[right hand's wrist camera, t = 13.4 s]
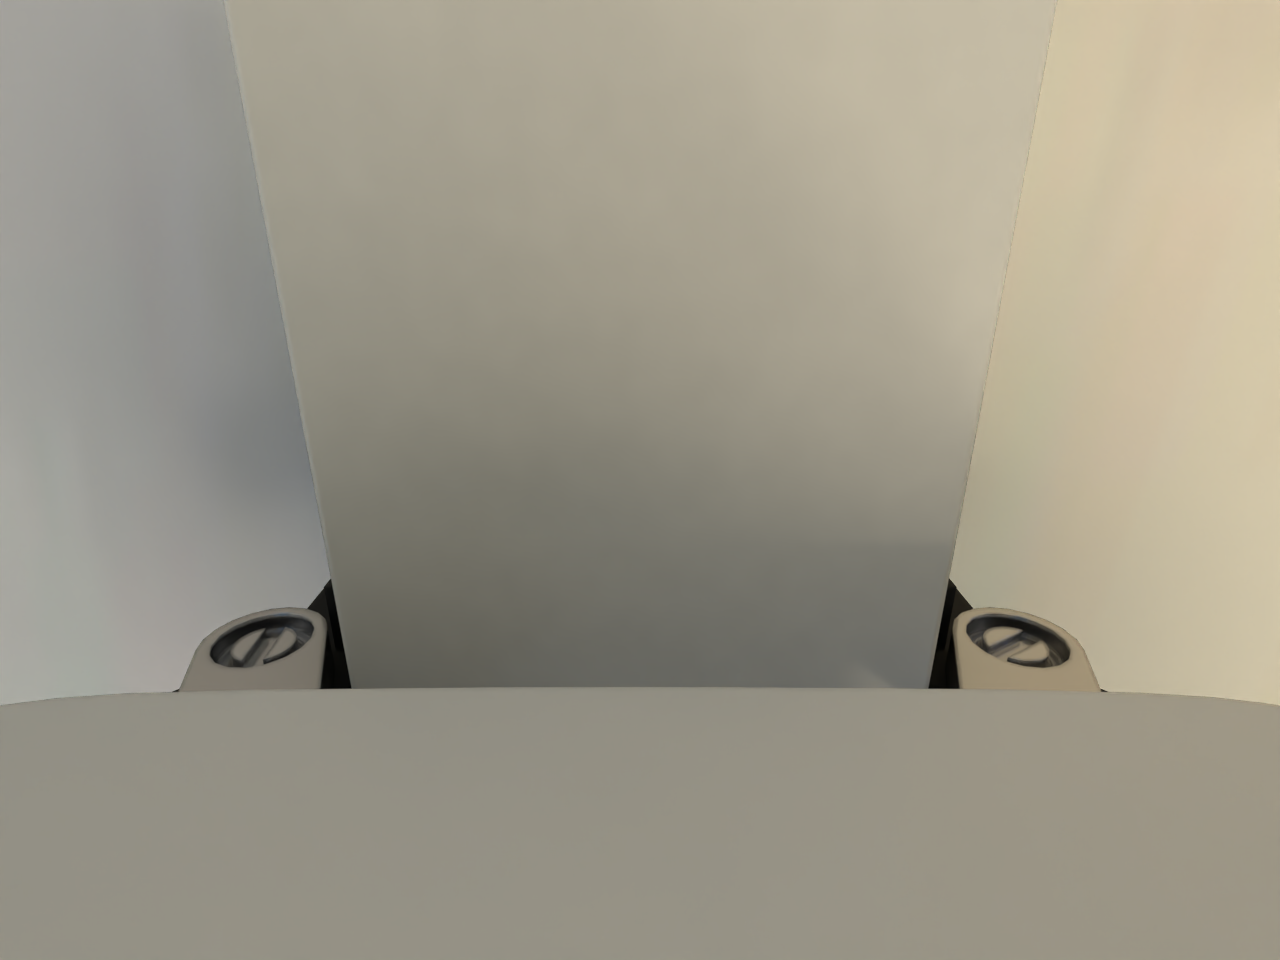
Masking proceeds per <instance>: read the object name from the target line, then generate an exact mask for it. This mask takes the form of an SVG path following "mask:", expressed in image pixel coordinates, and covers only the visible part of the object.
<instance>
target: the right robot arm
mask: <svg viewBox="0 0 1280 960" xmlns="http://www.w3.org/2000/svg"><path fill="white" fill-rule="evenodd" d="M0 960H1280V706H1278V705H1272V704H1266V703H1259V702H1250V701H1241V700H1233V699H1224V698H1215V697H1200V696H1184V695H1167V694H1151V693H1125V692H1107V691H1105V690H1102V689H1100V687H1099V684H1098V682H1097V679H1096V677H1095V675H1094V672H1093V670H1092V667H1091V665H1090V663H1089V660H1088V658H1087V655H1086V653H1085V651H1084V649H1083V648H1082V646H1081V645H1080V643H1079V642H1078V641H1077V639H1075V638H1074V637H1073V636H1072V635H1070V634H1069V633H1068V632H1067V631H1065V630H1064V629H1062V628H1060V627H1059V626H1057V625H1055V624H1053V623H1051V622H1049V621H1047V620H1045V619H1042V618H1039V617H1037V616H1034V615H1031V614H1028V613H1024V612H1020V611H1015V610H1011V609H1004V608H992V607H988V608H975V609H973V608H972V607H971V605H970V604H969V603H968V602H967V601H966V599H965V598H964V597H963V596H962V595H961V593H960V592H959V591H958V590H957V589H956V586H955V585H954V584H953V582H952V581H951V580H950V579H949V581H948V586H947V591H946V597H945V602H944V607H943V613H942V618H941V623H940V629H939V634H938V639H937V645H936V650H935V655H934V661H933V666H932V671H931V677H930V682H929V687H928V689H895V688H775V687H477V688H382V689H352V688H351V682H350V677H349V672H348V666H347V661H346V656H345V650H344V645H343V640H342V634H341V629H340V623H339V618H338V613H337V607H336V602H335V597H334V591H333V586H332V581H331V579H330V580H329V582H328V583H327V584H326V585H325V586H324V589H323V590H322V591H321V593H320V594H319V595H318V596H317V597H316V599H315V600H314V601H313V602H312V603H311V605H310V606H309V607H308V608H307V609H305V608H292V607H288V608H276V609H269V610H265V611H260V612H256V613H252V614H249V615H246V616H243V617H241V618H238V619H235V620H233V621H231V622H229V623H227V624H225V625H223V626H221V627H220V628H218V629H216V630H215V631H213V632H212V633H211V634H210V635H208V636H207V637H206V638H205V639H203V641H202V642H201V643H200V645H199V646H198V648H197V649H196V651H195V653H194V655H193V658H192V660H191V663H190V665H189V667H188V670H187V672H186V675H185V677H184V679H183V682H182V684H181V687H180V689H178V690H175V691H173V692H160V693H127V694H111V695H96V696H82V697H67V698H54V699H46V700H39V701H31V702H23V703H15V704H7V705H1V706H0Z"/></svg>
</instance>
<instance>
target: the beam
mask: <svg viewBox="0 0 1280 960" xmlns="http://www.w3.org/2000/svg"><path fill="white" fill-rule="evenodd" d="M223 3H224V9H225V14H226V19H227V25H228V30H229V35H230V41H231V46H232V51H233V57H234V62H235V68H236V73H237V78H238V84H239V89H240V94H241V100H242V105H243V110H244V116H245V121H246V126H247V132H248V137H249V142H250V148H251V153H252V158H253V164H254V169H255V174H256V180H257V185H258V190H259V196H260V201H261V207H262V212H263V217H264V223H265V228H266V233H267V239H268V244H269V249H270V255H271V260H272V265H273V271H274V276H275V281H276V287H277V292H278V297H279V303H280V308H281V313H282V319H283V324H284V329H285V335H286V340H287V345H288V351H289V356H290V362H291V367H292V372H293V378H294V383H295V388H296V394H297V399H298V404H299V410H300V415H301V420H302V426H303V431H304V436H305V442H306V447H307V452H308V458H309V463H310V468H311V474H312V479H313V484H314V490H315V495H316V501H317V506H318V511H319V517H320V522H321V527H322V533H323V538H324V543H325V549H326V554H327V559H328V565H329V570H330V575H331V581H332V586H333V591H334V597H335V602H336V607H337V613H338V618H339V623H340V629H341V634H342V640H343V645H344V650H345V656H346V661H347V666H348V672H349V677H350V682H351V688H352V689H382V688H477V687H775V688H895V689H928V687H929V682H930V677H931V671H932V666H933V661H934V655H935V650H936V645H937V639H938V634H939V629H940V623H941V618H942V613H943V607H944V602H945V597H946V591H947V586H948V581H949V575H950V570H951V565H952V559H953V554H954V549H955V543H956V538H957V533H958V527H959V522H960V517H961V511H962V506H963V501H964V495H965V490H966V485H967V479H968V474H969V469H970V463H971V458H972V453H973V447H974V442H975V437H976V431H977V426H978V421H979V415H980V410H981V405H982V399H983V394H984V389H985V383H986V378H987V373H988V367H989V362H990V357H991V351H992V346H993V341H994V335H995V330H996V325H997V319H998V314H999V309H1000V303H1001V298H1002V293H1003V287H1004V282H1005V277H1006V271H1007V266H1008V261H1009V255H1010V250H1011V245H1012V239H1013V234H1014V228H1015V223H1016V218H1017V212H1018V207H1019V202H1020V196H1021V191H1022V186H1023V180H1024V175H1025V170H1026V164H1027V159H1028V154H1029V148H1030V143H1031V138H1032V132H1033V127H1034V122H1035V116H1036V111H1037V106H1038V100H1039V95H1040V90H1041V84H1042V79H1043V74H1044V68H1045V63H1046V58H1047V52H1048V47H1049V42H1050V36H1051V31H1052V26H1053V20H1054V15H1055V10H1056V4H1057V0H223Z"/></svg>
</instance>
